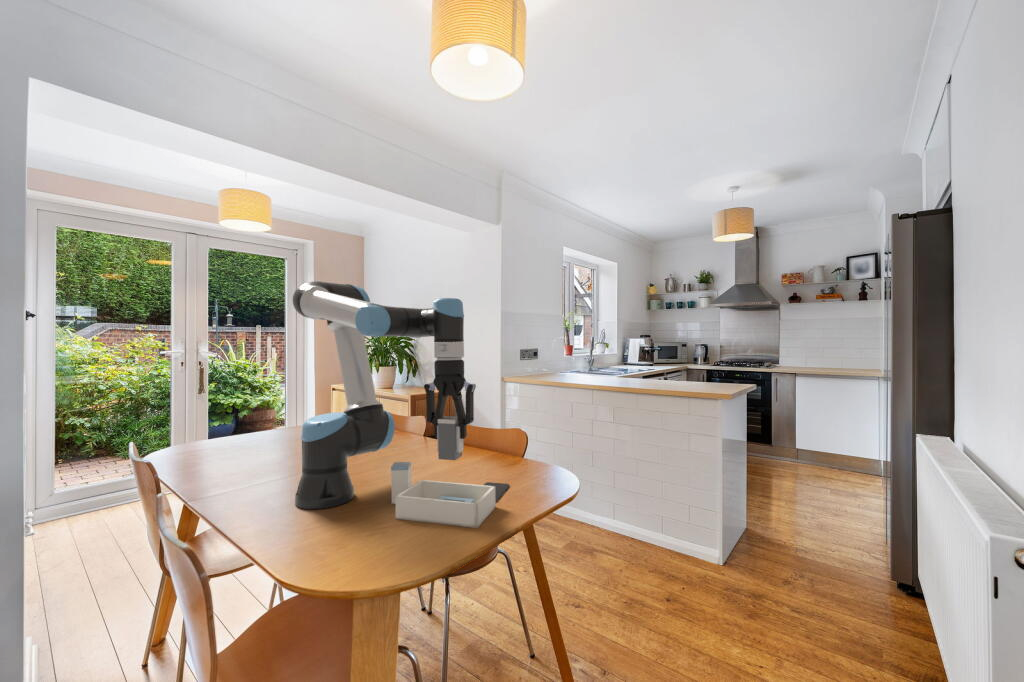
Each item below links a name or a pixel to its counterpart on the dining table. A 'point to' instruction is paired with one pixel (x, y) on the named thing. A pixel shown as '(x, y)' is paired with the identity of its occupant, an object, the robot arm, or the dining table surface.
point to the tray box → (446, 503)
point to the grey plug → (447, 438)
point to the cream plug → (400, 478)
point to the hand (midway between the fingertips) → (450, 450)
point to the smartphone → (498, 489)
